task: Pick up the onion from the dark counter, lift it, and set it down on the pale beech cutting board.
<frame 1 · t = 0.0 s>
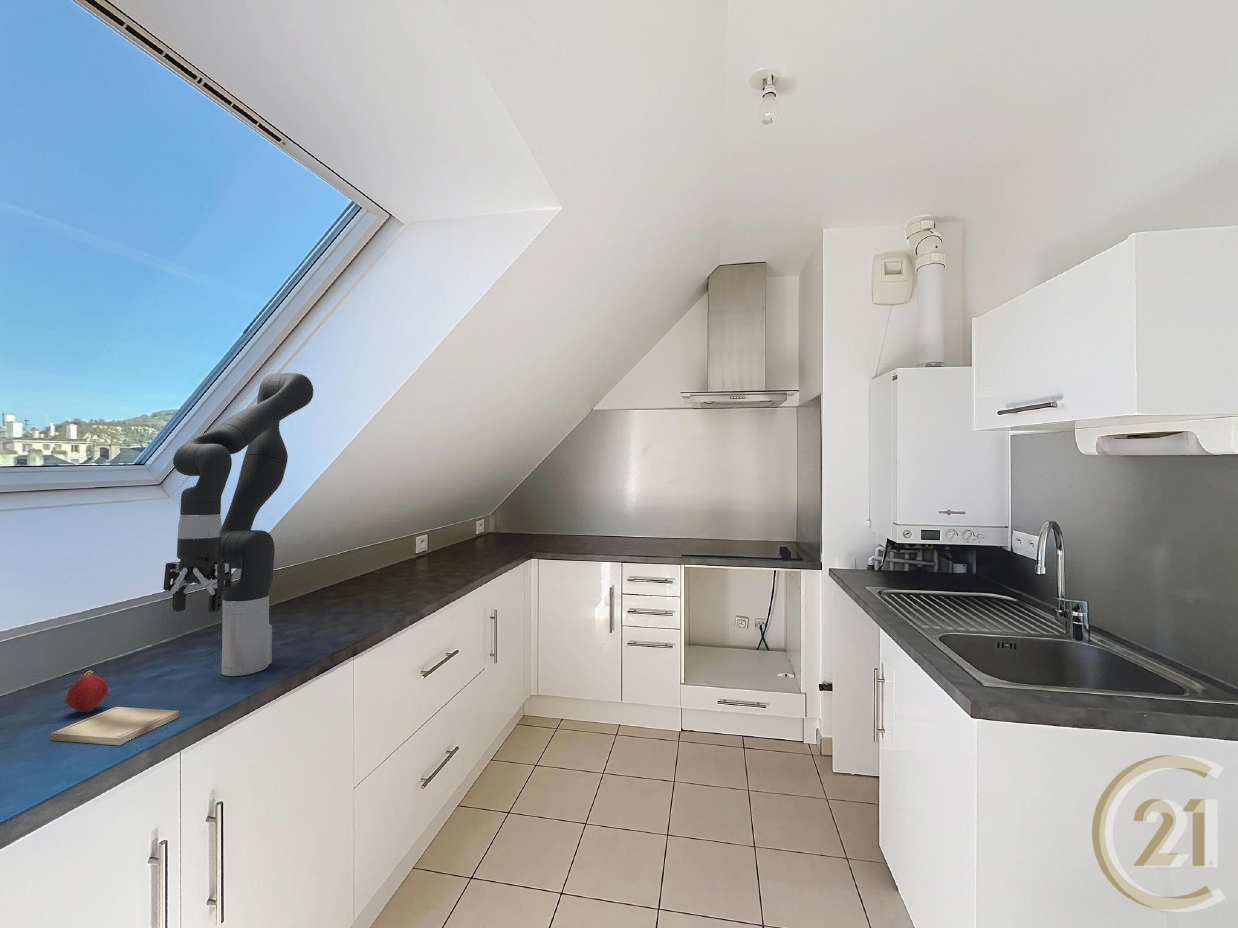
hand: (196, 611, 117), 17 cm above the worktop, tool pointing down, fingers open, 8 cm apart
board: (117, 727, 100), on the worktop
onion: (87, 713, 107), on the worktop
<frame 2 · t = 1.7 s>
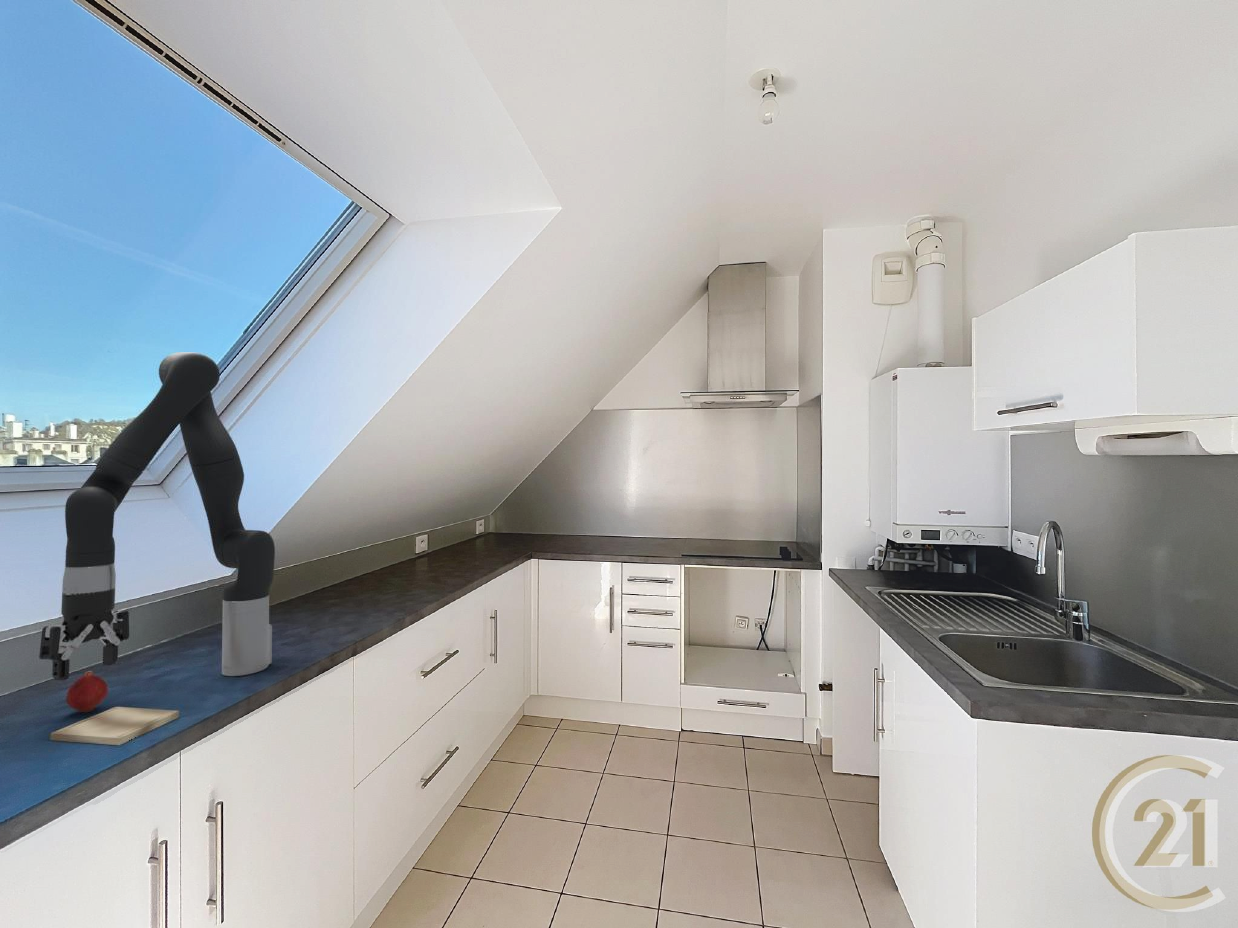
hand: (86, 671, 107), 8 cm above the worktop, tool pointing down, fingers open, 8 cm apart
nothing on the worktop moved.
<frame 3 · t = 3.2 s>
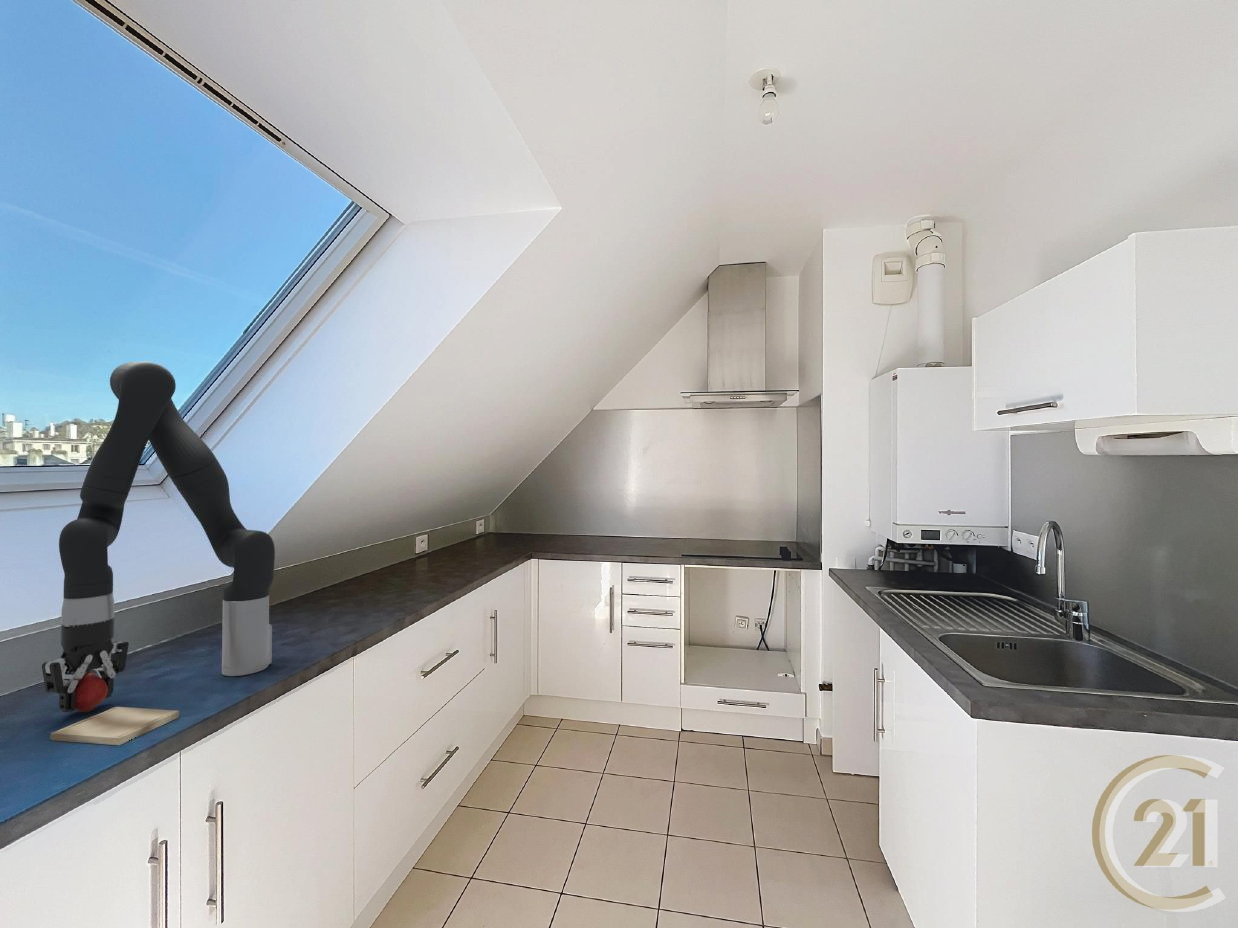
hand: (87, 703, 107), 2 cm above the worktop, tool pointing down, fingers closed on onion, 6 cm apart
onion: (87, 713, 107), on the worktop, touching gripper
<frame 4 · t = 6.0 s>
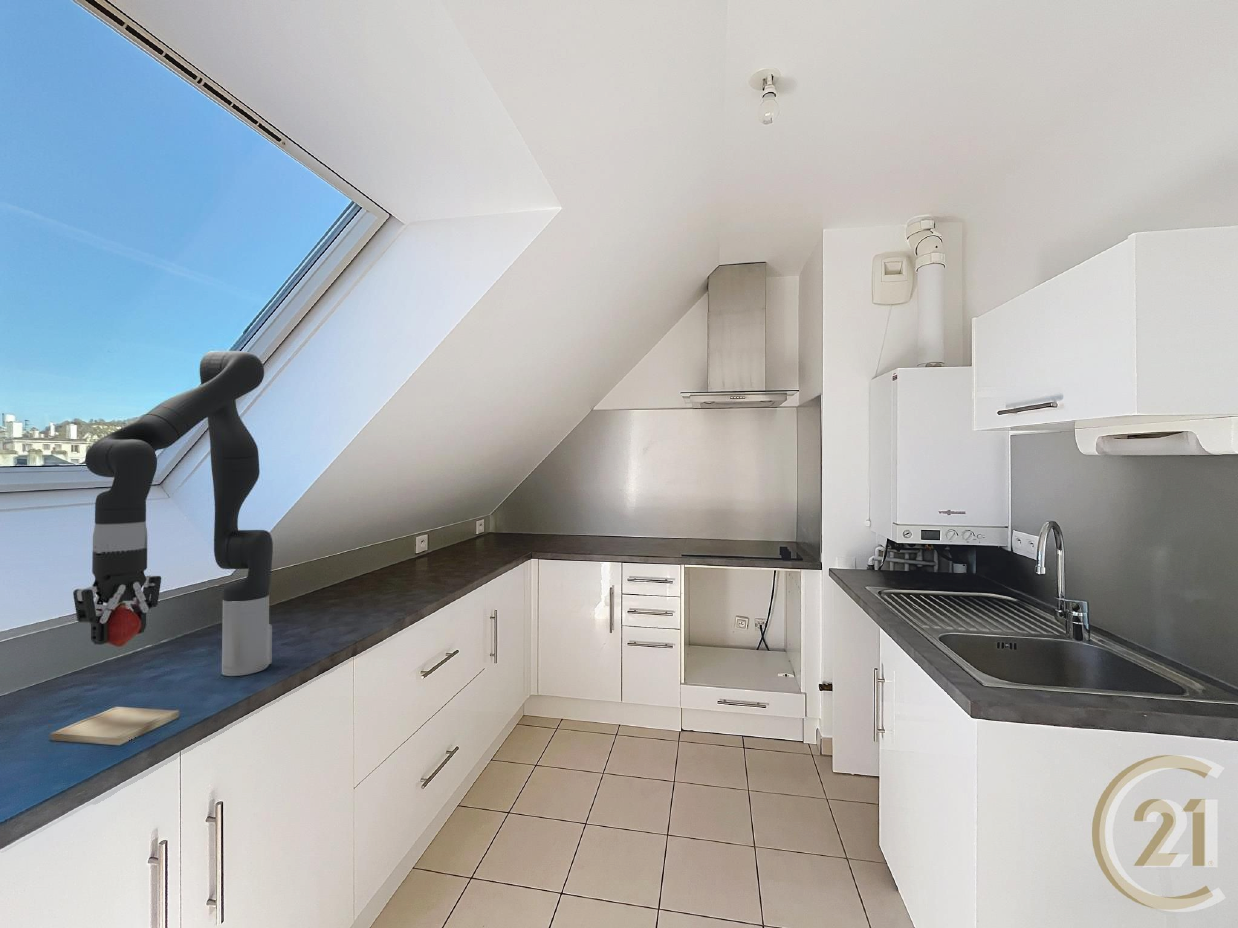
hand: (119, 637, 101), 16 cm above the worktop, tool pointing down, fingers closed on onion, 6 cm apart
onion: (119, 647, 101), point 15 cm above the worktop, touching gripper
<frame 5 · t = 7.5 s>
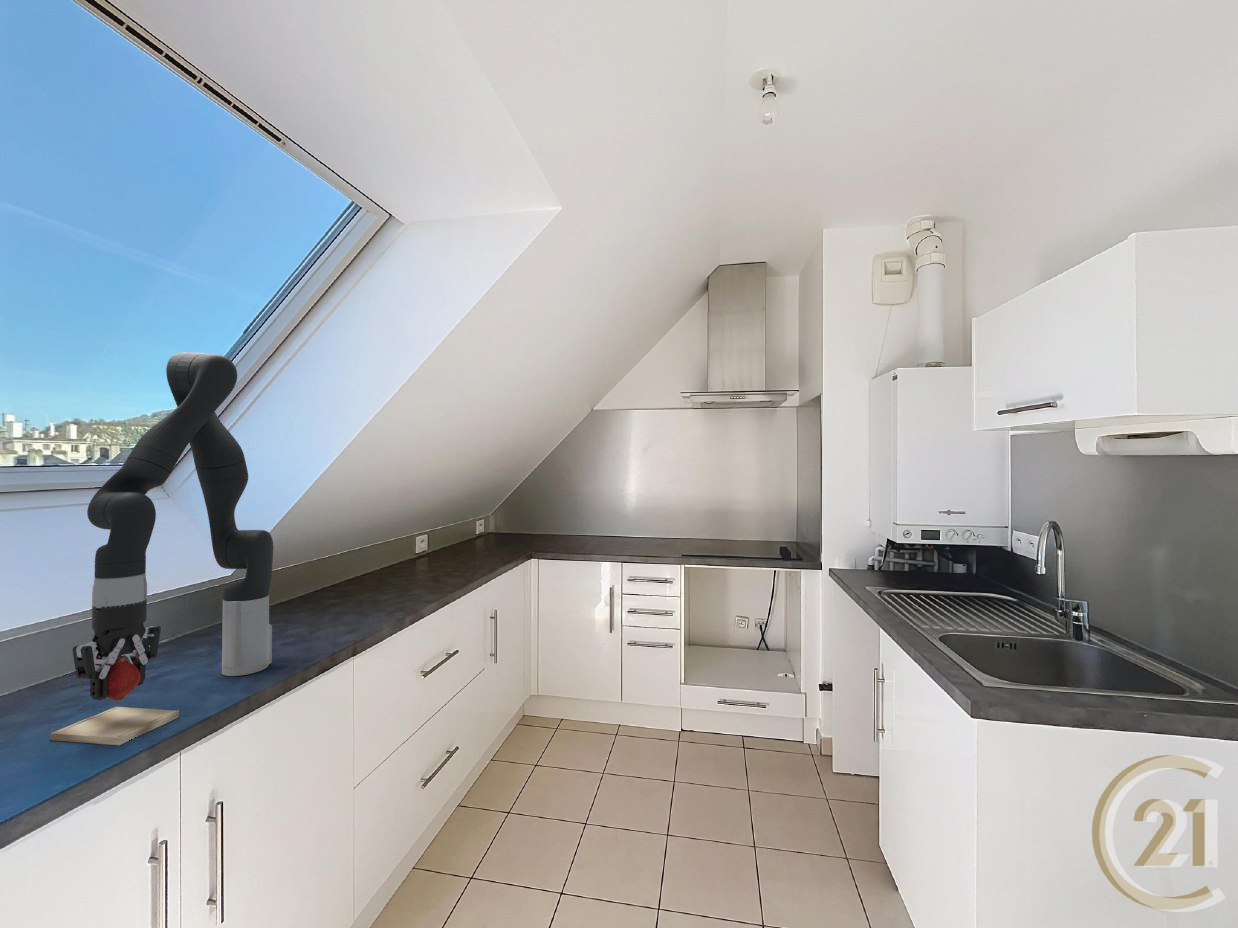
hand: (118, 691, 100), 7 cm above the worktop, tool pointing down, fingers closed on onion, 6 cm apart
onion: (118, 701, 100), point 5 cm above the worktop, touching gripper
when the fingers open (5 cm above the worktop, at t = 9.0 s): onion drops 2 cm, resting on board.
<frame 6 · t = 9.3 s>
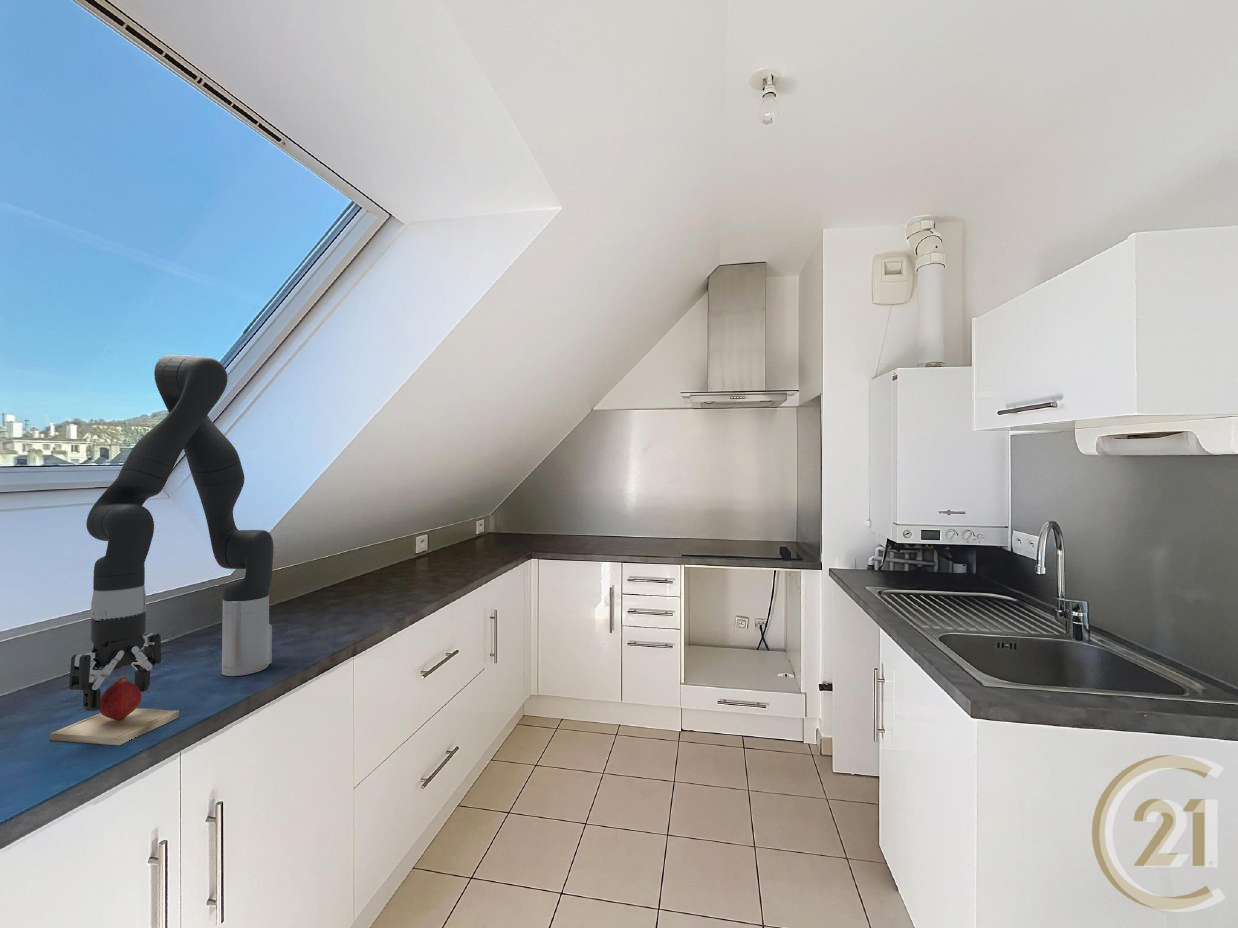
hand: (118, 700, 101), 5 cm above the worktop, tool pointing down, fingers open, 8 cm apart
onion: (119, 721, 101), point 1 cm above the worktop, touching board
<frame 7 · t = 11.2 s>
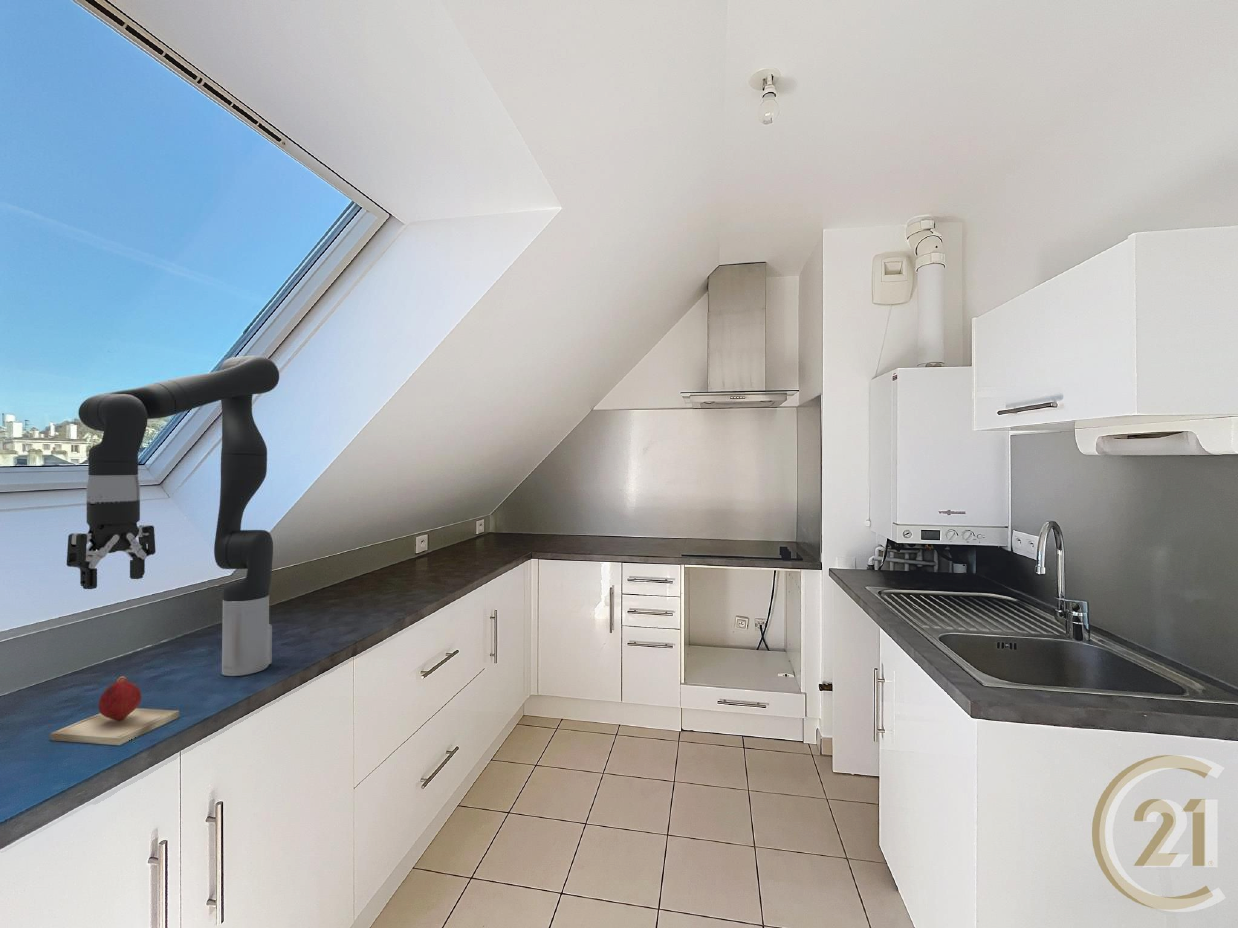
hand: (114, 583, 104), 26 cm above the worktop, tool pointing down, fingers open, 8 cm apart
nothing on the worktop moved.
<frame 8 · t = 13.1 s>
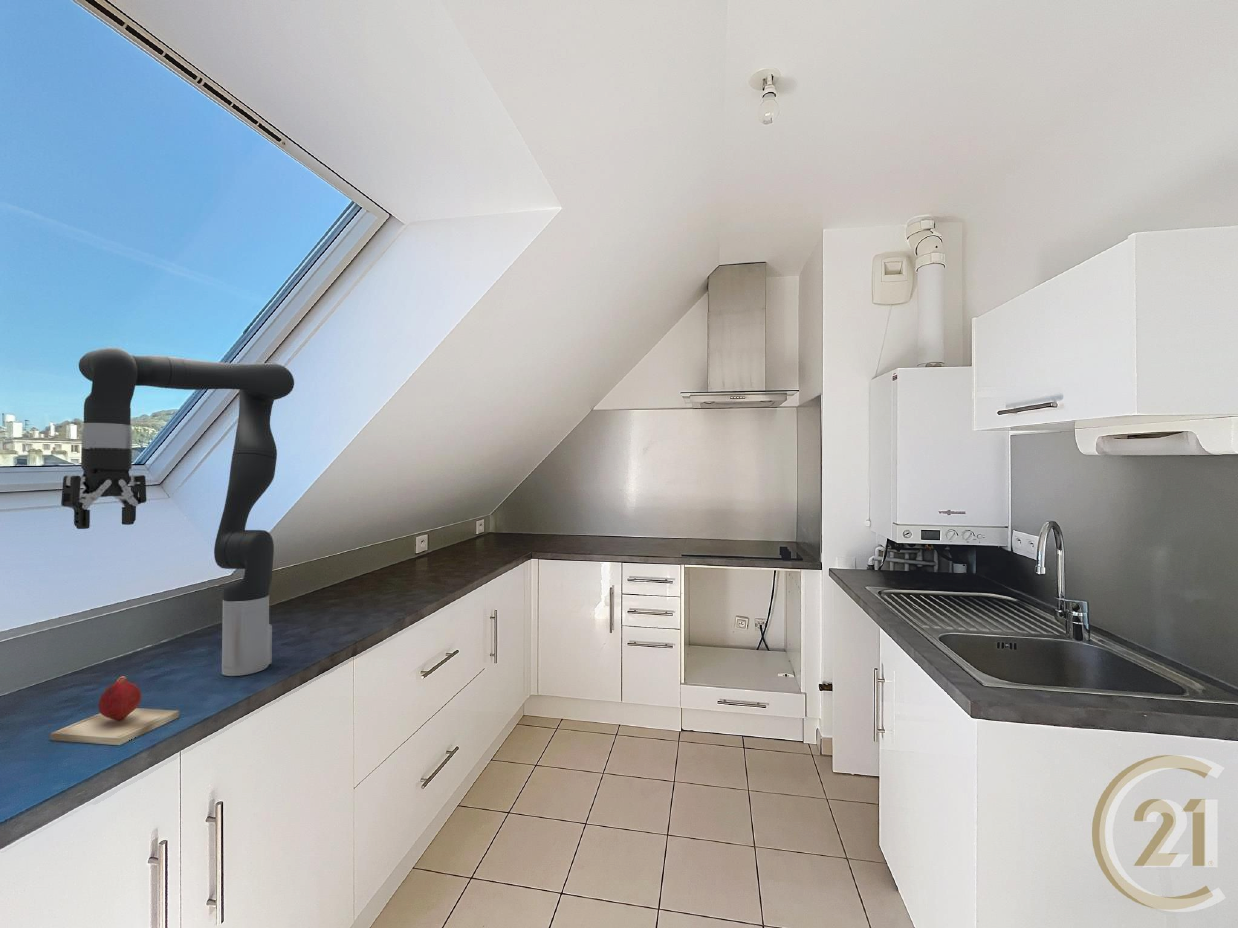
hand: (106, 526, 111), 36 cm above the worktop, tool pointing down, fingers open, 8 cm apart
nothing on the worktop moved.
at the end: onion inside the target area on the board (0.4 cm from its centre), point 1.0 cm above the board's base; the gripper is holding nothing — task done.
